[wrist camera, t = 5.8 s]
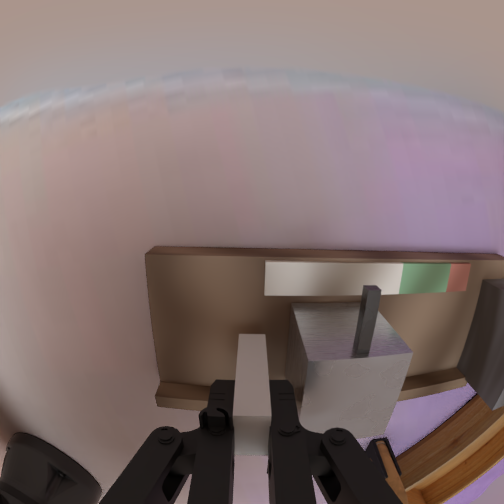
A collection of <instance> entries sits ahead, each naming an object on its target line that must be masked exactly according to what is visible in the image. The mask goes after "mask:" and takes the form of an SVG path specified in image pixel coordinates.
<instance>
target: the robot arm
mask: <svg viewBox="0 0 504 504" xmlns="http://www.w3.org/2000/svg"><path fill="white" fill-rule="evenodd" d="M199 422H200V427H199V428H198V429H196V430H193V431H189V432H182V433H180V432H179V431H178V430H177V429H175V428H173V427H168V426H165V427H159V428H157V429H155V430H154V431H153V432H152V433H151V434H150V435H149V437H148V438H147V439H146V441H145V442H144V444H143V445H142V446H141V448H140V449H139V450H138V452H137V453H136V454H135V456H134V457H133V459H132V460H131V461H130V463H129V464H128V465H127V467H126V468H125V469H124V471H123V472H122V473H121V475H120V476H119V477H118V479H117V480H116V481H115V483H114V484H113V485H112V487H111V488H110V489H109V491H108V492H107V493H106V495H105V496H104V497H103V499H102V500H101V501H100V503H99V504H174V502H175V500H176V499H177V497H178V495H179V493H180V491H181V490H182V488H183V486H184V484H185V482H186V480H187V478H188V477H189V474H192V479H191V485H190V491H189V496H188V502H187V504H232V503H233V483H234V455H268V468H267V474H268V480H269V503H270V504H316V498H315V492H314V486H313V480H312V475H313V477H314V479H315V481H316V483H317V485H318V487H319V488H320V490H321V492H322V494H323V496H324V498H325V500H326V502H327V503H328V504H403V503H402V502H401V500H400V499H399V498H398V496H397V495H396V494H395V492H394V491H393V490H392V488H391V487H390V485H389V484H388V483H387V481H386V480H385V479H384V477H383V476H382V475H381V473H380V472H379V470H378V469H377V468H376V466H375V465H374V464H373V462H372V461H371V459H370V458H369V457H368V455H367V454H366V452H365V451H364V450H363V448H362V447H361V446H360V444H359V443H358V441H357V440H356V439H355V437H354V436H353V434H352V433H351V432H350V431H348V430H346V429H344V428H338V427H337V428H331V429H329V430H326V431H325V432H324V434H322V433H316V432H312V431H309V430H307V429H305V428H304V427H303V426H302V425H301V424H300V421H299V417H298V411H297V406H296V400H295V394H294V389H293V385H292V384H291V383H290V382H289V381H288V380H269V375H268V362H267V349H266V337H265V334H239V340H238V352H237V365H236V378H235V380H220V379H216V380H215V381H214V382H213V384H212V385H211V387H210V394H209V398H208V404H207V407H206V408H204V409H203V410H202V411H201V412H200V414H199ZM6 451H7V452H6V455H5V458H4V462H3V467H2V472H1V477H0V504H98V501H99V499H100V496H101V493H102V492H101V488H100V486H99V485H98V483H97V482H96V481H95V480H94V478H93V477H92V476H91V475H90V474H89V473H88V472H86V471H85V470H84V469H83V468H82V467H81V466H79V465H78V464H77V463H76V462H74V461H73V460H72V459H70V458H69V457H68V456H66V455H65V454H63V453H62V452H60V451H59V450H57V449H56V448H54V447H52V446H51V445H49V444H47V443H46V442H44V441H42V440H40V439H38V438H36V437H33V436H31V435H28V434H25V433H16V434H14V436H13V437H12V438H11V440H10V441H9V442H8V444H7V448H6Z"/></svg>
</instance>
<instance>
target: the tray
mask: <svg viewBox="0 0 504 504" xmlns="http://www.w3.org/2000/svg"><path fill="white" fill-rule="evenodd" d="M503 458H504V406H502V407H500V408H497V409H495V410H493V411H492V410H491V409H490V408H489V406H488V405H487V404H486V403H485V402H484V401H483V399H482V398H481V397H480V396H479V395H478V394H477V395H476V396H475V397H474V398H473V399H472V400H471V401H469V402H468V403H467V404H466V405H465V406H464V407H463V408H461V409H460V410H459V411H458V412H457V413H456V414H454V415H453V416H452V417H451V418H450V419H448V420H447V421H446V422H445V423H443V424H442V425H441V426H440V427H438V428H437V429H436V430H434V431H433V432H432V433H431V434H429V435H428V436H427V437H425V438H424V439H423V440H421V441H420V442H418V443H417V444H415V445H414V446H412V447H411V448H409V449H408V450H407V451H405V452H404V453H402V454H401V455H399V456H397V457H396V460H397V463H398V465H399V468H400V470H401V472H402V475H401V476H400V479H401V481H402V484H403V486H404V489H405V491H406V494H407V498H408V503H409V504H443V503H444V502H446V501H447V500H449V499H450V498H452V497H453V496H455V495H456V494H458V493H459V492H461V491H462V490H463V489H465V488H466V487H468V486H469V485H470V484H472V483H473V482H474V481H476V480H477V479H478V478H480V477H481V476H482V475H484V474H485V473H486V472H487V471H489V470H490V469H491V468H492V467H493V466H495V465H496V464H497V463H498V462H499V461H500V460H502V459H503Z"/></svg>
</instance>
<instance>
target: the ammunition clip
mask: <svg viewBox="0 0 504 504" xmlns="http://www.w3.org/2000/svg"><path fill="white" fill-rule="evenodd" d="M365 452H366V454H367V455H368V457H369V458H370V459H371V461H372V462H373V464H374V465H375V466H376V468H377V469H378V470H379V472H380V473H381V475H382V476H383V477H384V479H385V480H386V481H387V483H388V484H389V485H390V487H391V488H392V490H393V491H394V492H395V494H396V495H397V496H398V498H399V499H400V500H401V502H402V503H403V504H409V503H408V498H407V494H406V491H405V489H404V486H403V484H402V481H401V479H400V476H401V475H402V472H401V470H400V468H399V465H398V463H397V460H396V458H395V455H394V453H393V451H392V448H391V446H390V443H389V441H388V439H387V438H385V439H377V440H372V441H371V442H370V444H369V445H368V447H367V449H366V451H365Z"/></svg>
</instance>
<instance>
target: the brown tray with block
mask: <svg viewBox="0 0 504 504" xmlns="http://www.w3.org/2000/svg"><path fill="white" fill-rule="evenodd" d="M145 263H146V276H147V287H148V297H149V306H150V315H151V323H152V331H153V338H154V345H155V352H156V358H157V364H158V370H159V376H160V385H159V387H158V390H157V392H156V395H155V399H156V403H157V406H158V407H166V408H175V409H185V410H196V411H202V410H203V409H204V408H206V407H207V404H208V398H209V394H210V387H211V385H212V384H213V382H214V381H215V380H216V379H220V380H235V378H236V365H237V352H238V340H239V334H265V337H266V349H267V362H268V375H269V380H285V370H286V360H287V349H288V338H289V326H290V313H291V303H345V302H361V298H362V291H363V285H377V286H378V287H379V288H380V289H381V290H382V291H381V297H380V303H379V308H378V311H379V312H380V314H381V315H382V316H383V317H384V318H385V319H386V320H387V322H388V323H389V324H390V325H391V326H392V328H393V329H394V330H395V331H396V332H397V333H398V335H399V336H400V337H401V338H402V339H403V341H404V342H405V343H406V344H407V345H408V347H409V348H410V349H411V350H412V351H413V355H412V359H411V362H410V365H409V368H408V371H407V374H406V377H405V380H404V383H403V386H402V389H401V391H400V394H399V397H398V400H397V401H403V400H408V399H413V398H418V397H423V396H427V395H432V394H436V393H440V392H444V391H448V390H452V389H456V388H460V387H463V386H466V384H467V382H468V383H469V385H470V386H471V387H472V388H473V389H474V390H475V391H476V392H477V394H478V395H479V396H480V397H481V398H482V399H483V401H484V402H485V403H486V404H487V405H488V406H489V408H490V409H491V410H492V411H493V410H495V409H497V408H500V407H502V406H504V257H503V256H500V255H498V254H476V253H438V252H398V251H356V250H311V249H263V248H212V247H154V248H152V249H151V250H150V251H149V252H147V253H146V254H145Z"/></svg>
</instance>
